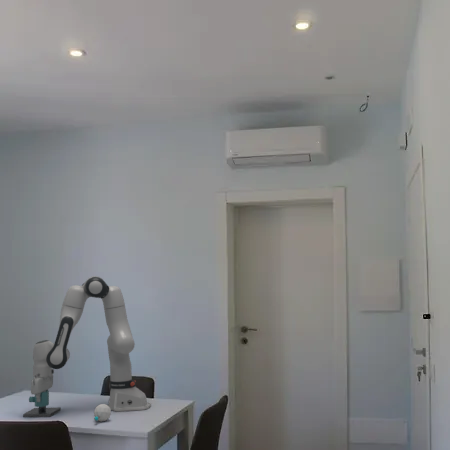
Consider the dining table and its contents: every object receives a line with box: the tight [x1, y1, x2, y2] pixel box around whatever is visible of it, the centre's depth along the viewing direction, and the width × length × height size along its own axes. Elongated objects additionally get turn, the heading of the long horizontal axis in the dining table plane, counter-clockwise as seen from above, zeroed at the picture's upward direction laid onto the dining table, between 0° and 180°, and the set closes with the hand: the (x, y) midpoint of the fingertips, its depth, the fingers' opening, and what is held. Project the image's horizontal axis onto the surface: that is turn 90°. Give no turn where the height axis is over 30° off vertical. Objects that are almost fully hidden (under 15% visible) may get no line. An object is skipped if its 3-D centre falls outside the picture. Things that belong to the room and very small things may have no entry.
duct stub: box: [22, 390, 62, 418], centre depth 301 cm, size 14×14×12 cm
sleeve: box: [28, 389, 50, 408], centre depth 301 cm, size 9×6×7 cm
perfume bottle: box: [93, 403, 112, 423], centre depth 280 cm, size 8×8×12 cm
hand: (42, 400), depth 301 cm, fingers closed on sleeve, 6 cm apart
